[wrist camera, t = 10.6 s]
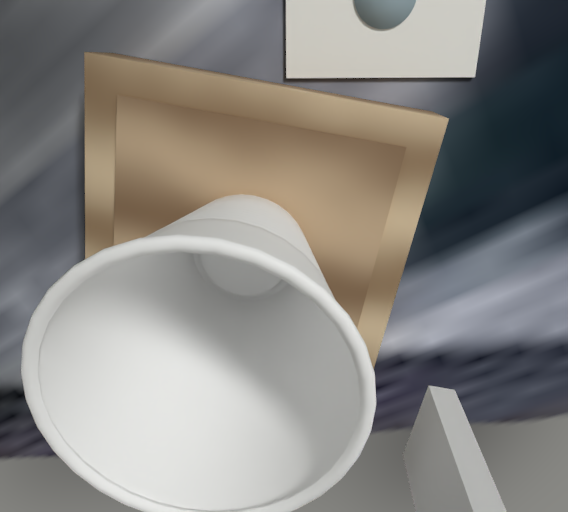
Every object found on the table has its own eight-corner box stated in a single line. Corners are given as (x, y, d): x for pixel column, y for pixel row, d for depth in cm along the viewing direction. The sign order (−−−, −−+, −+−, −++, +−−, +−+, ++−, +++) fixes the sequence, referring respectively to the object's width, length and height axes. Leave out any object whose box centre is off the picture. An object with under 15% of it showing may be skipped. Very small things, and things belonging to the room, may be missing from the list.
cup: (203, 360, 26) (135, 556, 15) (108, 200, 22) (-59, 319, 12) (374, 300, 24) (424, 481, 13) (298, 115, 20) (289, 172, 10)
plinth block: (111, 53, 23) (82, 51, 20) (432, 111, 23) (449, 119, 20) (107, 328, 29) (84, 358, 26) (357, 371, 29) (363, 405, 26)
